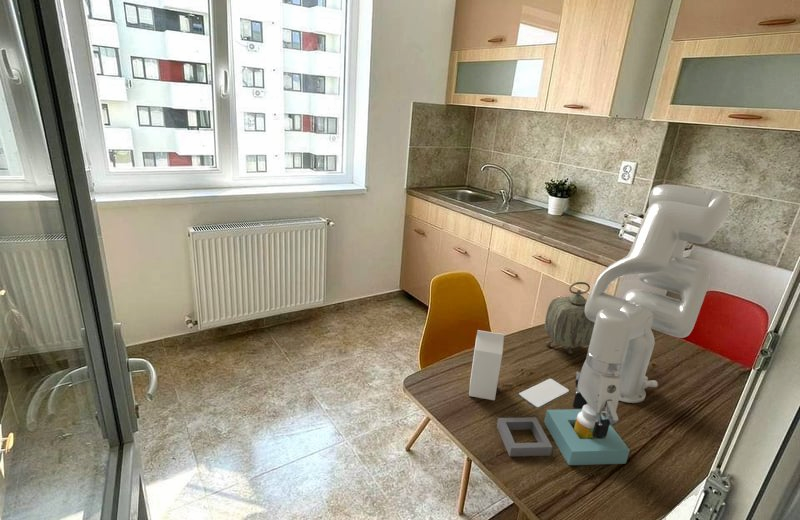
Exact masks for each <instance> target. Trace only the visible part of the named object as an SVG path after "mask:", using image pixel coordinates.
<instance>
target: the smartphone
mask: <svg viewBox="0 0 800 520" xmlns="http://www.w3.org/2000/svg"><path fill="white" fill-rule="evenodd" d="M569 392H570V389H569V388H568V387H566V386H564V385H563V384H561V383H559V382H558V381H556V380H554V379H553V378H547V379H545V380H543V381H541V382H539V383H537V384H535V385H533V386H531V387H528V388H526V389H524V390H522V391H520V392H518V393H517V396H519V397H520V398H521V399H523V400H524V401H526V402H527V403H528V404H530V405H531V406H532V407H534V408H536V409H539V408H541V407H542V406H544V405H547V404H549V403H550V402H552V401H554V400H556V399H558V398H560V397H561V396H564V395H565V394H567V393H569Z"/></svg>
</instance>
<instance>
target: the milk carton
mask: <svg viewBox="0 0 800 520" xmlns="http://www.w3.org/2000/svg"><path fill="white" fill-rule="evenodd" d="M504 339H505V334H504V333H499V332H491V331H486V330H479V329H477V331H476V336H475V345H474V351H473V357H472V365H471V372H470V379H469V389H468V391H469V392H468V396H469V397H473V398H474V397H475V398H479V399H485V400H490V401H495V400H496V396H497V395H496V394H497V387H498V384H499V383H498V382H499V377H500V372H501V371H500V370H501V364H502V359H503V353H504V351H503V350H504V342H505V341H504Z"/></svg>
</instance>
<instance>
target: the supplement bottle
mask: <svg viewBox="0 0 800 520" xmlns="http://www.w3.org/2000/svg"><path fill="white" fill-rule="evenodd" d="M581 409H582V411H581V412H579V413H578V415H577V419H576V423H575V427H574V431H575V432H576V434H577V435H578V437H579V438H580V439H597V437H593V436H592V433H593V429H594V425H595V422H598V421H597V415H596V412H595V411H594V410H593V409H592V408H591V407H590V405H589V404H588V403H587V404H586V405H584V406H583V408H581Z"/></svg>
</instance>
